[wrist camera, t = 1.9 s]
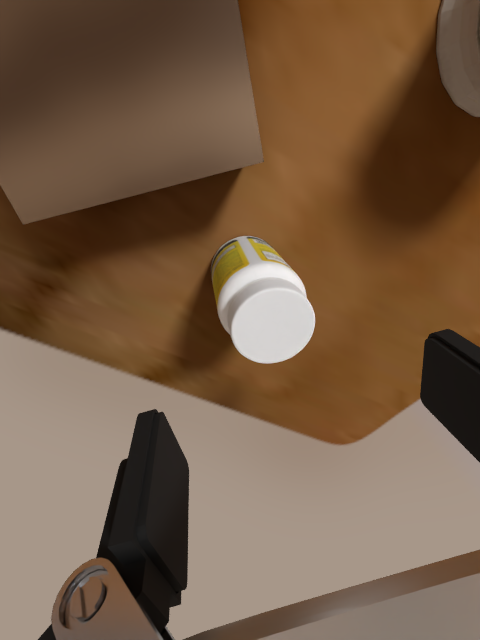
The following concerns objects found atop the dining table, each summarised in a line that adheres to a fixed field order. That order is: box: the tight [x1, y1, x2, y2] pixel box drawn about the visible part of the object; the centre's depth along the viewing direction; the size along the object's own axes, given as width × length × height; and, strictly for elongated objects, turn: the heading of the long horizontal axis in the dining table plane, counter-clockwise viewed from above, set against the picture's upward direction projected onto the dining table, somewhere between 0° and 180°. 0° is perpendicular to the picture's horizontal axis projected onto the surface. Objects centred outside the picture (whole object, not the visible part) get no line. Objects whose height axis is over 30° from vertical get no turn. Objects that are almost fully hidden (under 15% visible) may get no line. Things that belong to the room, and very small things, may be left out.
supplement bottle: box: [211, 236, 315, 363], centre depth 17 cm, size 5×5×8 cm
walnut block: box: [0, 0, 264, 224], centre depth 13 cm, size 11×11×5 cm
